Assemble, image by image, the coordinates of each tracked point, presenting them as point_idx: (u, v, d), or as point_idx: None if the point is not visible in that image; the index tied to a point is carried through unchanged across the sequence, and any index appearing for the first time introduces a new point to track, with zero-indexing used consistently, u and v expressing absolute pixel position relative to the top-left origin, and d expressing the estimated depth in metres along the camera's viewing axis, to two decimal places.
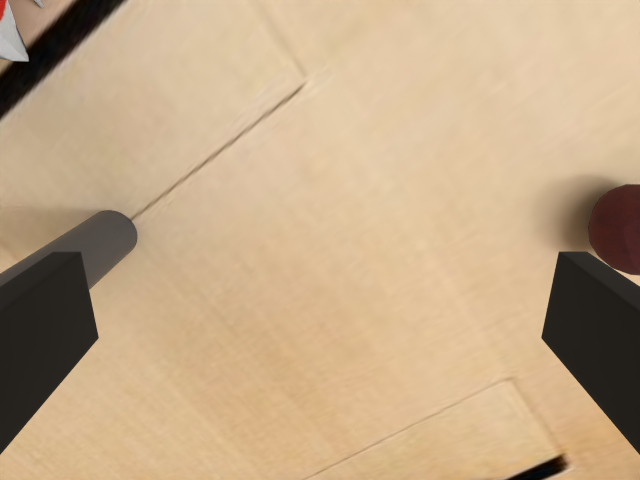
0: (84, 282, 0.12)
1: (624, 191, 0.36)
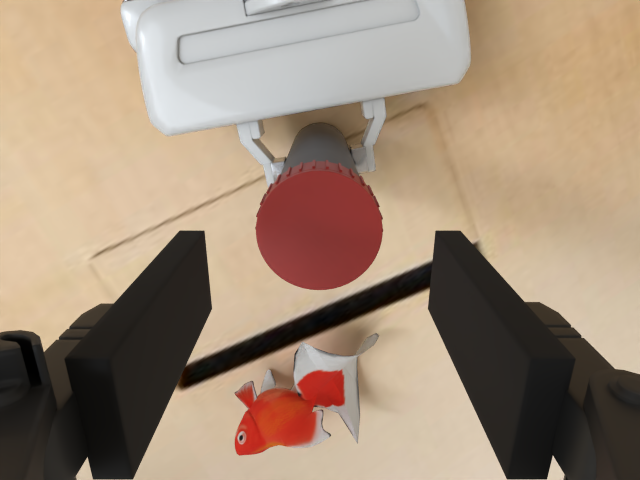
0: (205, 258, 0.14)
1: None
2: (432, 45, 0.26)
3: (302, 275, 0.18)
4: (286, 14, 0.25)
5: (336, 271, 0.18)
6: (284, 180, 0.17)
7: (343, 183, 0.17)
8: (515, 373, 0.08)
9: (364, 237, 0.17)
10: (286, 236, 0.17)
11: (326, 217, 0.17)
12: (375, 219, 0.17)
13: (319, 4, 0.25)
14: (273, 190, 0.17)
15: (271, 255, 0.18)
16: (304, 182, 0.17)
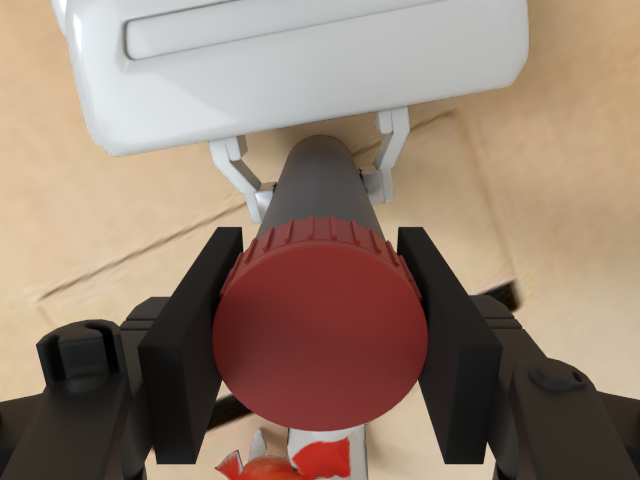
0: None
1: None
2: (476, 33, 0.19)
3: (291, 410, 0.11)
4: None
5: (348, 404, 0.11)
6: (258, 260, 0.09)
7: (363, 267, 0.09)
8: (450, 361, 0.08)
9: (397, 353, 0.10)
10: (263, 351, 0.10)
11: (332, 322, 0.10)
12: (417, 325, 0.10)
13: None
14: (239, 277, 0.10)
15: (239, 380, 0.10)
16: (294, 265, 0.09)
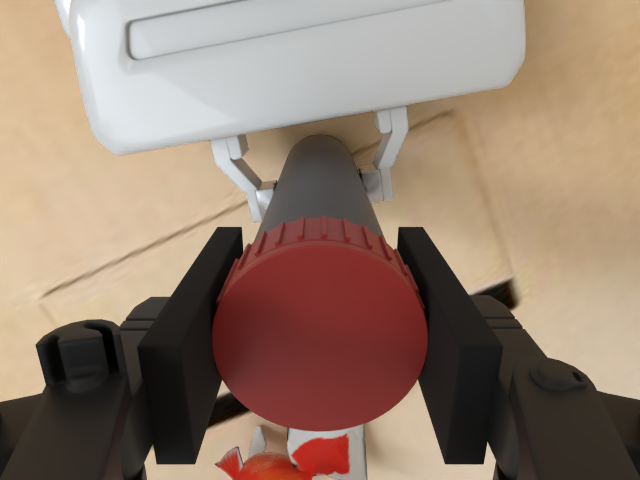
0: (242, 254, 0.14)
1: None
2: (473, 35, 0.19)
3: (396, 373, 0.10)
4: None
5: (393, 321, 0.10)
6: (232, 389, 0.11)
7: (229, 310, 0.10)
8: (450, 361, 0.08)
9: (328, 276, 0.09)
10: (323, 393, 0.10)
11: (290, 336, 0.10)
12: (294, 258, 0.09)
13: None
14: (247, 405, 0.11)
15: (356, 414, 0.11)
16: (231, 366, 0.10)
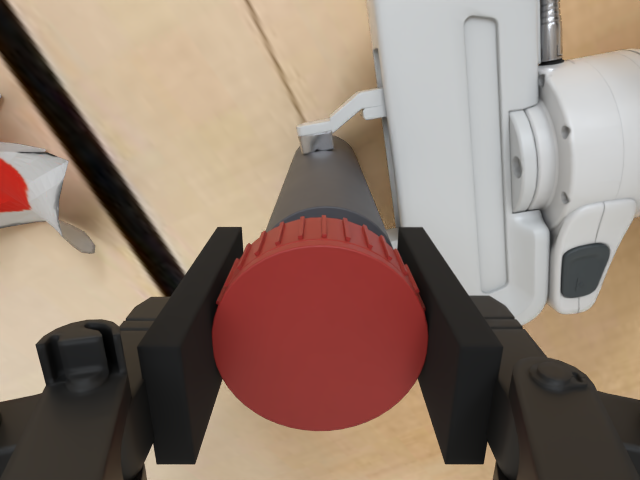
0: (242, 253, 0.14)
1: None
2: None
3: (396, 372, 0.10)
4: (504, 159, 0.22)
5: (393, 321, 0.10)
6: (232, 388, 0.11)
7: (230, 310, 0.10)
8: (450, 361, 0.08)
9: (328, 276, 0.09)
10: (323, 393, 0.11)
11: (290, 335, 0.10)
12: (294, 258, 0.09)
13: (508, 193, 0.23)
14: (248, 405, 0.11)
15: (356, 413, 0.11)
16: (232, 365, 0.10)
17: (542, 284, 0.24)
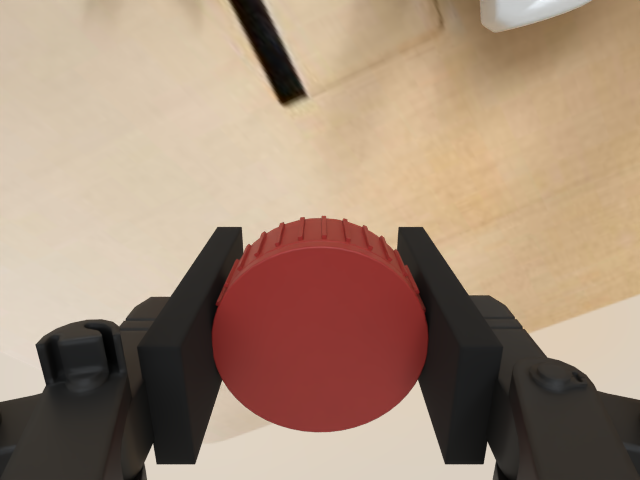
0: (242, 253, 0.14)
1: None
2: None
3: (396, 373, 0.10)
4: None
5: (393, 322, 0.10)
6: (232, 390, 0.11)
7: (229, 311, 0.10)
8: (450, 362, 0.08)
9: (328, 277, 0.09)
10: (324, 394, 0.11)
11: (290, 336, 0.10)
12: (294, 259, 0.09)
13: None
14: (248, 406, 0.11)
15: (356, 415, 0.11)
16: (231, 366, 0.10)
17: None
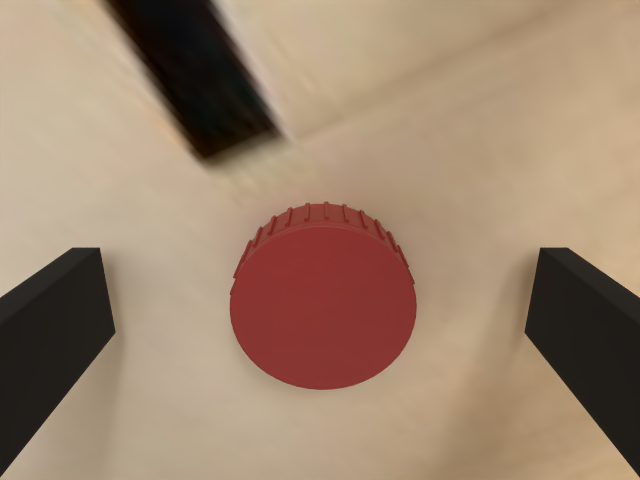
0: (102, 278, 0.12)
1: None
2: None
3: (389, 337, 0.12)
4: None
5: (386, 291, 0.11)
6: None
7: (246, 281, 0.11)
8: None
9: (330, 252, 0.11)
10: (326, 355, 0.12)
11: (298, 304, 0.12)
12: (301, 236, 0.11)
13: None
14: (260, 366, 0.12)
15: (354, 374, 0.12)
16: (247, 330, 0.12)
17: None
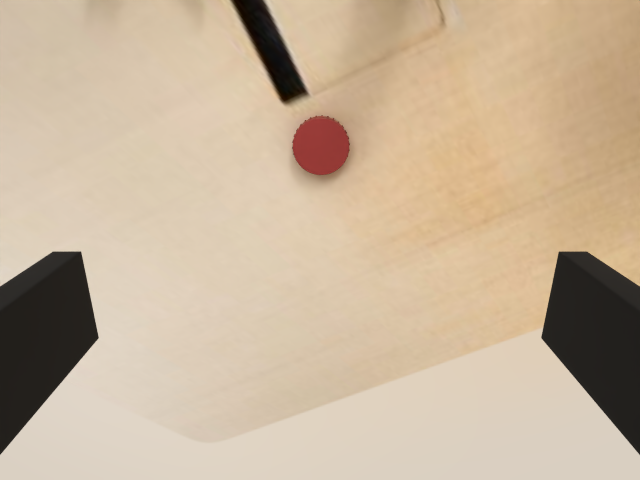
0: (84, 282, 0.12)
1: None
2: None
3: (341, 155, 0.39)
4: None
5: (339, 139, 0.39)
6: (297, 161, 0.40)
7: (298, 136, 0.39)
8: None
9: (323, 126, 0.38)
10: (322, 161, 0.39)
11: (313, 143, 0.39)
12: (314, 121, 0.38)
13: None
14: (301, 166, 0.40)
15: (331, 168, 0.40)
16: (298, 153, 0.39)
17: None
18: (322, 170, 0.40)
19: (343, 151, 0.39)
